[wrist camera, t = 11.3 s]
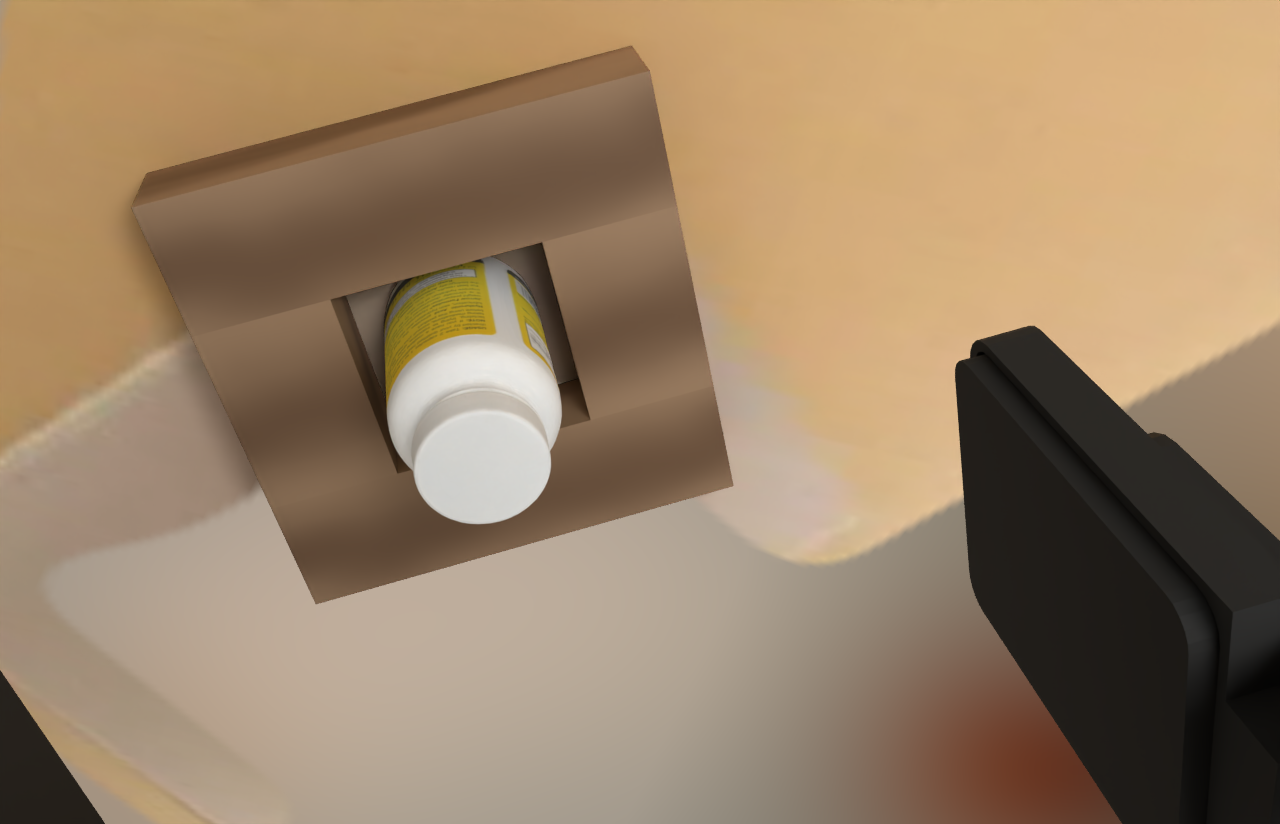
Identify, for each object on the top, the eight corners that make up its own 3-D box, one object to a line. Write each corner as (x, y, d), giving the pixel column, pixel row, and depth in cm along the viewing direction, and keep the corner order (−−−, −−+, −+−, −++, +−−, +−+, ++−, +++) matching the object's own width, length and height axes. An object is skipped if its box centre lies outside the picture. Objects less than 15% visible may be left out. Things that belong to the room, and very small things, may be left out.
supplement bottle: (358, 350, 43) (355, 508, 35) (425, 221, 41) (439, 357, 33) (494, 405, 45) (522, 566, 37) (564, 285, 43) (609, 427, 35)
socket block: (146, 173, 39) (131, 207, 36) (631, 45, 40) (649, 70, 37) (318, 554, 47) (316, 604, 45) (714, 443, 48) (733, 485, 46)
